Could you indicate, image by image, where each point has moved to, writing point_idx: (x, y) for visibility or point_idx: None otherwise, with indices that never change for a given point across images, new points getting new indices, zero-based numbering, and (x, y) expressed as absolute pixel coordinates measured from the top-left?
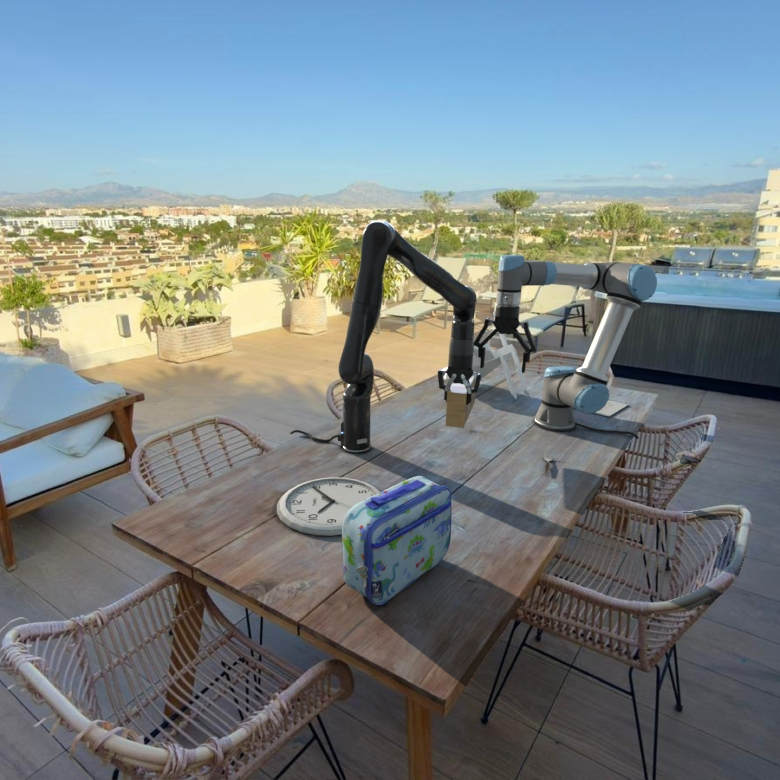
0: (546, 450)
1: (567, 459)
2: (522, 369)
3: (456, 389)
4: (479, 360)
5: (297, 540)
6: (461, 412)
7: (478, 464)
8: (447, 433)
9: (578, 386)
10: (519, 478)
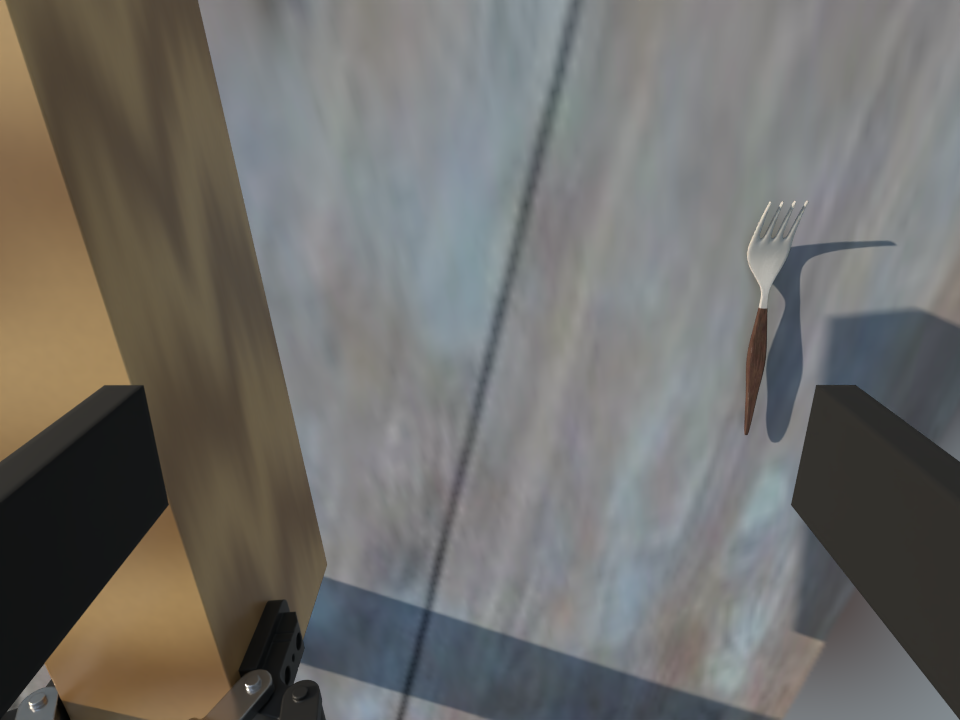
0: (768, 208)
1: (869, 200)
2: (825, 534)
3: (134, 714)
4: None
5: None
6: None
7: (440, 432)
8: None
9: None
10: (631, 490)
